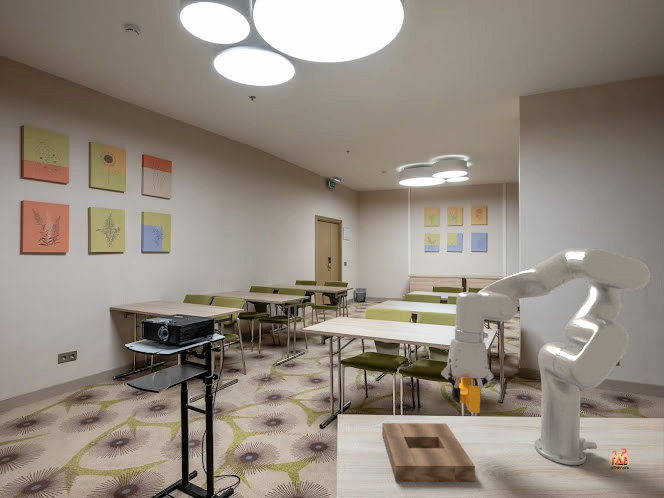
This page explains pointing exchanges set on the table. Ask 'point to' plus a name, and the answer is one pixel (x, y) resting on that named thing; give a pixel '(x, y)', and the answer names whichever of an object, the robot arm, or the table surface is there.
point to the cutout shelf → (426, 453)
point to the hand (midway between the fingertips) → (466, 400)
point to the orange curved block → (470, 395)
